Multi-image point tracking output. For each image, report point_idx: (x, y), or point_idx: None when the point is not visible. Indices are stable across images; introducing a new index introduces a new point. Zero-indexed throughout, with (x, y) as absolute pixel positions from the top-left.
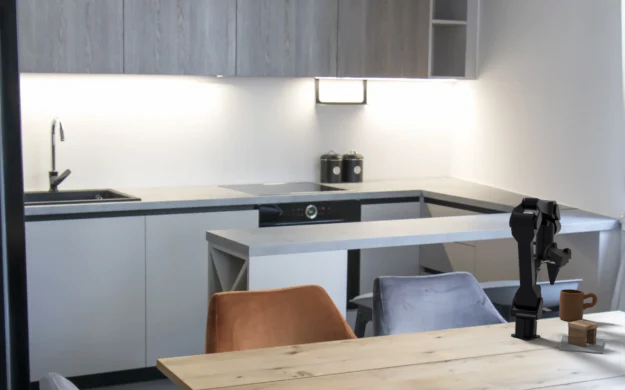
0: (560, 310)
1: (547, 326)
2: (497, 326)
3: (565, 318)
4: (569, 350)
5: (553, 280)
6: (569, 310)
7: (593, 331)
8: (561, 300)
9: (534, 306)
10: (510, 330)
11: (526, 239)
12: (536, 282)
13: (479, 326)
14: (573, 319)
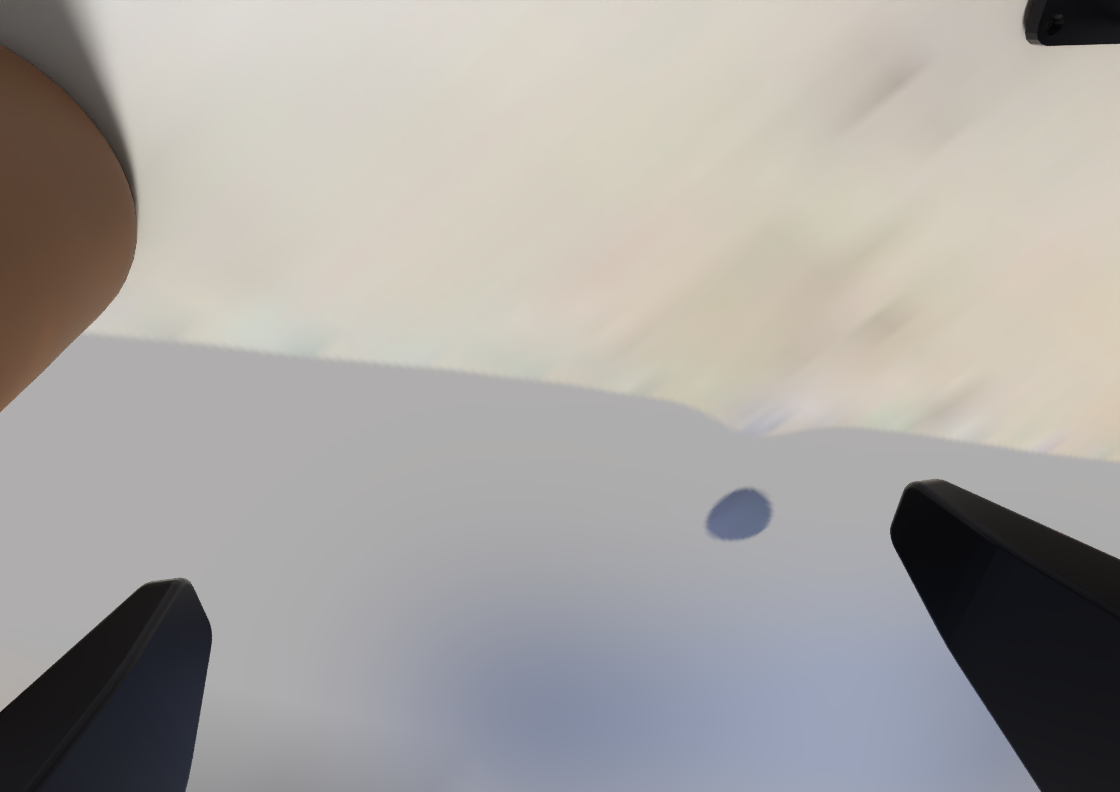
0: (93, 297)
1: (552, 101)
2: (906, 372)
3: (113, 162)
4: None
5: (121, 693)
6: (1, 129)
7: None
8: (7, 352)
9: None
10: (975, 212)
11: None
12: (1058, 575)
13: (987, 434)
14: (11, 53)
